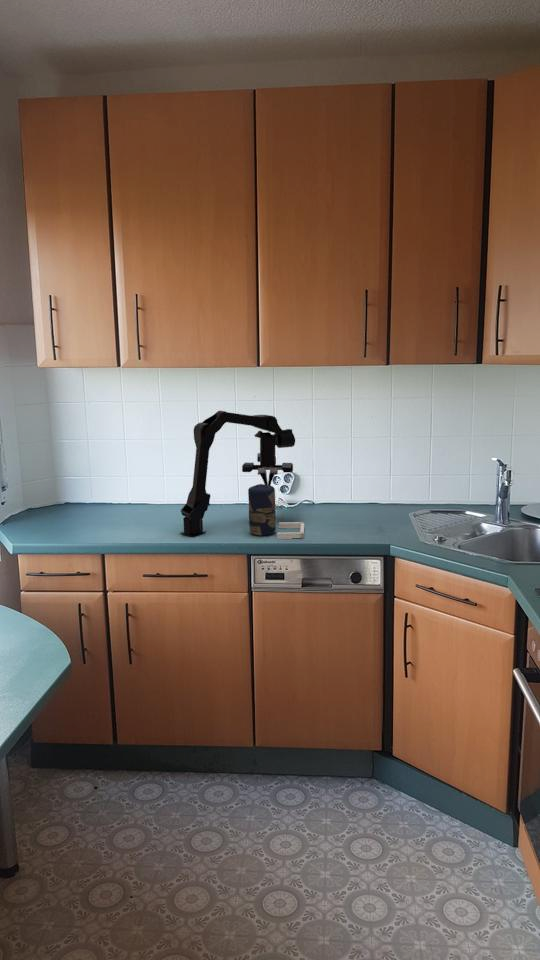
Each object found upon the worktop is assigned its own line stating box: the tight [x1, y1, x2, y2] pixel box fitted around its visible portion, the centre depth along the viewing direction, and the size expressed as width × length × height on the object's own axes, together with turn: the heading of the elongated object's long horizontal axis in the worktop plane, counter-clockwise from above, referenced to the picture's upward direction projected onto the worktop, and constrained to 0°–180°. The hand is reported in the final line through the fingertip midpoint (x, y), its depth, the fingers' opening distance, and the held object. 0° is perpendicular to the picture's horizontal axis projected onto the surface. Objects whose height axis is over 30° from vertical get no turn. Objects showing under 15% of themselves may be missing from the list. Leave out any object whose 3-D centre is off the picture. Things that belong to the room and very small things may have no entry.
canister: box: [247, 483, 277, 536], centre depth 264 cm, size 10×10×18 cm
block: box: [276, 521, 305, 540], centre depth 265 cm, size 9×15×2 cm, turn 177°
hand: (267, 490), depth 279 cm, fingers closed
